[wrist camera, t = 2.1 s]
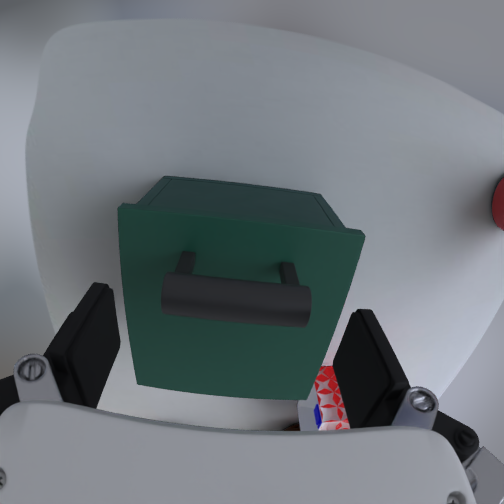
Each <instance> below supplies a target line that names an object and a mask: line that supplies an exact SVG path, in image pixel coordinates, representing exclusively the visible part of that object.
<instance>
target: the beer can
mask: <svg viewBox="0 0 504 504" xmlns="http://www.w3.org/2000/svg"><path fill="white" fill-rule="evenodd" d="M492 214H493V219H494V221H495V223H496V224H497V226H498V227H499V228H501V229H502V230H504V177H503V178H502V179H501V181H500V182H499V184H498V185H497V187H496V190H495V192H494V196H493V200H492Z"/></svg>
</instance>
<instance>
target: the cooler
mask: <svg viewBox="0 0 504 504" xmlns="http://www.w3.org/2000/svg"><path fill="white" fill-rule="evenodd" d="M137 204H140V205H152V206H163V207H174V208H184V209H194V210H204V211H214V212H223V213H232V214H241V215H250V216H258V217H267V218H275V219H283V220H291V221H299V222H306V223H314V224H321V225H329V226H336V227H343V228H346V227H345V226H344V225H343V223H342V222H341V221H340V219H339V218H338V216H337V215H336V214H335V212H334V211H333V210H332V208H331V207H330V206H329V204H328V203H327V202H326V200H325V199H324V198H323V197H322V195H321V194H317V193H311V192H304V191H297V190H290V189H283V188H275V187H268V186H260V185H252V184H243V183H235V182H225V181H216V180H206V179H195V178H184V177H172V176H164V177H163V178H162V179H161V180H160V181H159V182H158V183H157V184H156V185H155V186H154V187H153V188H152V189H151V190H150V191H149V192H148V193H147V194H146V195H145V196H144V197H143V198H142V199H141V200H140V201H139V202H138V203H137Z"/></svg>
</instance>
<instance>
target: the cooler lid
mask: <svg viewBox="0 0 504 504" xmlns="http://www.w3.org/2000/svg"><path fill="white" fill-rule="evenodd" d="M118 232H119V250H120V264H121V275H122V286H123V295H124V304H125V312H126V320H127V327H128V334H129V341H130V347H131V353H132V359H133V365H134V370H135V375H136V380H137V384H138V385H143V386H149V387H155V388H161V389H168V390H174V391H182V392H189V393H197V394H206V395H216V396H227V397H239V398H254V399H275V400H307V399H308V396H309V394H310V392H311V389H312V387H313V385H314V382H315V380H316V377H317V375H318V373H319V370H320V368H321V365H322V363H323V360H324V358H325V355H326V352H327V350H328V347H329V345H330V342H331V339H332V337H333V334H334V331H335V329H336V326H337V323H338V320H339V318H340V315H341V312H342V309H343V306H344V303H345V300H346V297H347V294H348V291H349V288H350V285H351V282H352V279H353V276H354V273H355V270H356V267H357V263H358V260H359V257H360V254H361V250H362V247H363V243H364V240H365V235H364V233H363V232H362V231H361V230H357V229H350V228H343V227H336V226H329V225H321V224H314V223H306V222H299V221H291V220H283V219H275V218H267V217H258V216H250V215H241V214H232V213H223V212H214V211H204V210H194V209H184V208H174V207H163V206H152V205H140V204H128V203H122V204H121V205H120V206H119V207H118Z"/></svg>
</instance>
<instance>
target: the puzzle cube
mask: <svg viewBox="0 0 504 504" xmlns="http://www.w3.org/2000/svg"><path fill="white" fill-rule="evenodd" d="M297 409H298V416H299V423H300V430H301V431H317V430H338V429H350V426H349V422H348V419H347V415H346V411H345V408H344V404H343V401H342V397H341V393H340V390H339V386H338V383H337V380H336V376H335V373H334V369H333V366H321V368H320V370H319V373H318V375H317V377H316V380H315V382H314V385H313V387H312V389H311V392H310V394H309V396H308V399H307V400H299V401H298V404H297Z"/></svg>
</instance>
